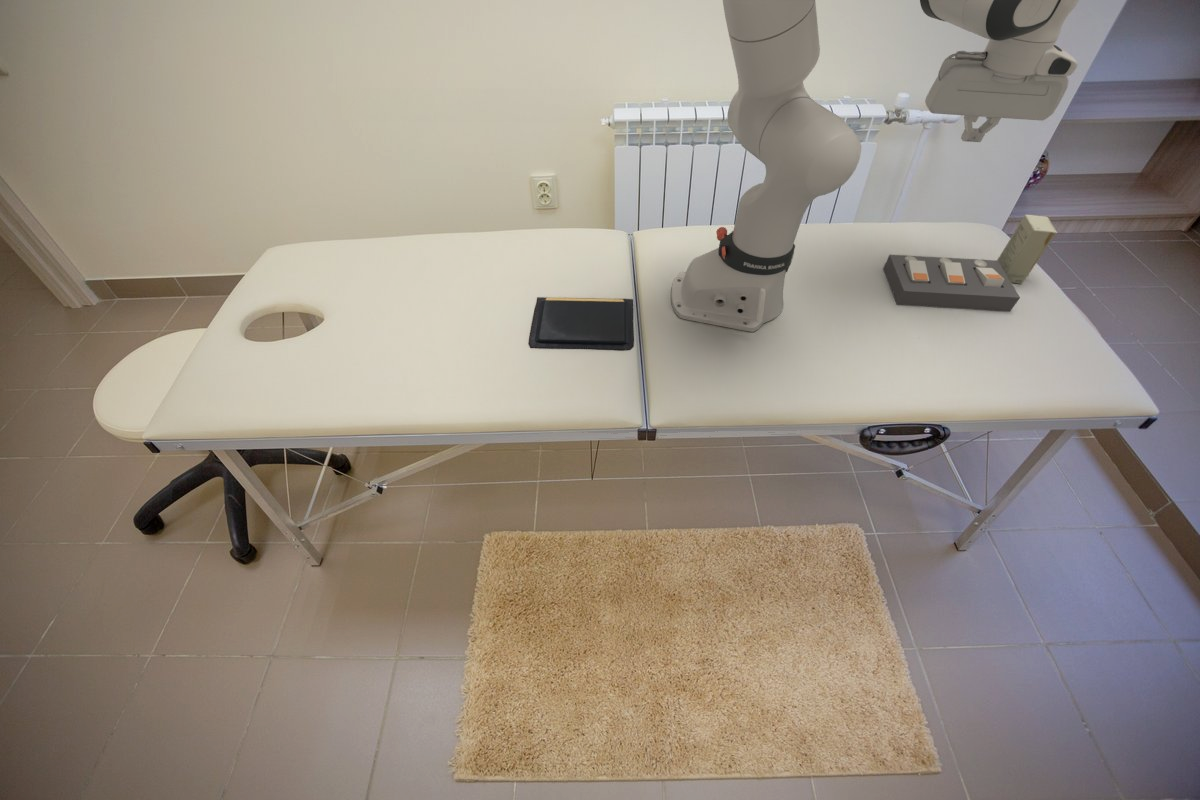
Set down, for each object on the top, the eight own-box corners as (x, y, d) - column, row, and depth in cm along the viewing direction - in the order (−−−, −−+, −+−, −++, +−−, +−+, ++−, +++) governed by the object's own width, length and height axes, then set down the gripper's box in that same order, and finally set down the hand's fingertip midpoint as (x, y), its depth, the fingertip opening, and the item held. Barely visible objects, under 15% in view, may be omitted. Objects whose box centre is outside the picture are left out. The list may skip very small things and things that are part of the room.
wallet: (525, 343, 105) (536, 290, 115) (526, 350, 106) (537, 298, 116) (633, 347, 104) (635, 294, 114) (633, 355, 106) (635, 302, 115)
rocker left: (908, 285, 115) (913, 279, 113) (904, 266, 117) (908, 259, 116) (925, 286, 115) (929, 280, 113) (920, 266, 117) (925, 260, 115)
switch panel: (896, 304, 114) (904, 290, 111) (883, 268, 122) (889, 254, 119) (1010, 311, 113) (1020, 297, 110) (988, 274, 121) (998, 260, 118)
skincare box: (1022, 284, 118) (1058, 233, 109) (1000, 282, 119) (1034, 231, 110) (1014, 266, 123) (1048, 215, 113) (992, 263, 123) (1025, 213, 114)
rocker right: (983, 286, 113) (987, 277, 112) (972, 275, 117) (976, 266, 116) (1000, 287, 113) (1004, 278, 112) (988, 276, 117) (992, 267, 116)
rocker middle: (944, 287, 114) (949, 281, 113) (939, 267, 117) (944, 261, 115) (960, 288, 114) (965, 282, 113) (955, 268, 117) (960, 262, 115)
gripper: (954, 57, 89) (915, 144, 100) (1089, 65, 88) (1035, 152, 99) (942, 43, 93) (906, 128, 104) (1071, 50, 92) (1021, 136, 103)
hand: (970, 140), depth 101 cm, fingers closed
